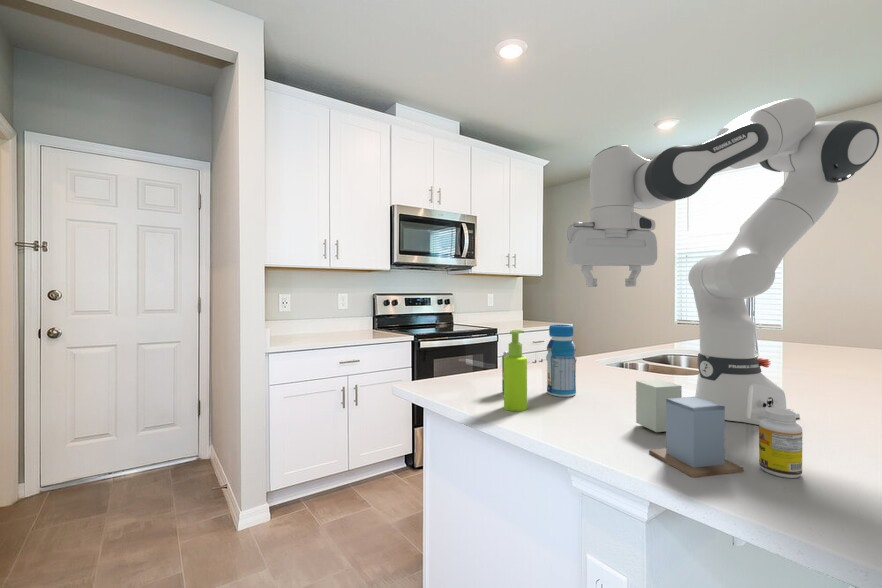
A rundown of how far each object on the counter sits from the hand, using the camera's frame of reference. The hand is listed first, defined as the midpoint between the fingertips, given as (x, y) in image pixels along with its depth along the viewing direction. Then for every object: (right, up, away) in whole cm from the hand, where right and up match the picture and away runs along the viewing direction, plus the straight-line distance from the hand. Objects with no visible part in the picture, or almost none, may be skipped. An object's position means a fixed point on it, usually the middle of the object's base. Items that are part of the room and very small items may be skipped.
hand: (611, 286), depth 89 cm
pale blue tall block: (+8, -31, -17) cm, 36 cm away
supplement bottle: (+20, -32, -21) cm, 42 cm away
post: (+8, -31, -16) cm, 36 cm away
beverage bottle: (-2, -31, +31) cm, 44 cm away
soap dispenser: (-18, -31, +17) cm, 40 cm away
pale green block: (+10, -31, 0) cm, 33 cm away
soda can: (-16, -31, +32) cm, 47 cm away
